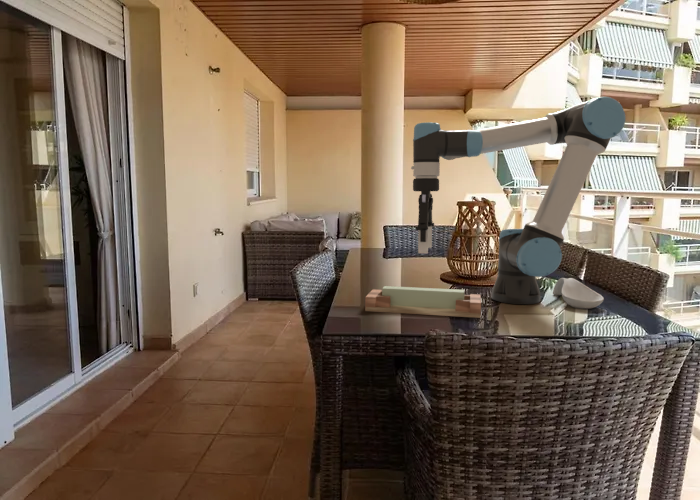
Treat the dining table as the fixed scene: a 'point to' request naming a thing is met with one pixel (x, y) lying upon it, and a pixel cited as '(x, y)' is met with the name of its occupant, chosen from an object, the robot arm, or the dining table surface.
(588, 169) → the robot arm
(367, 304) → the slat cradle
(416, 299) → the slat
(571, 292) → the spoon rest
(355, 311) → the dining table surface
